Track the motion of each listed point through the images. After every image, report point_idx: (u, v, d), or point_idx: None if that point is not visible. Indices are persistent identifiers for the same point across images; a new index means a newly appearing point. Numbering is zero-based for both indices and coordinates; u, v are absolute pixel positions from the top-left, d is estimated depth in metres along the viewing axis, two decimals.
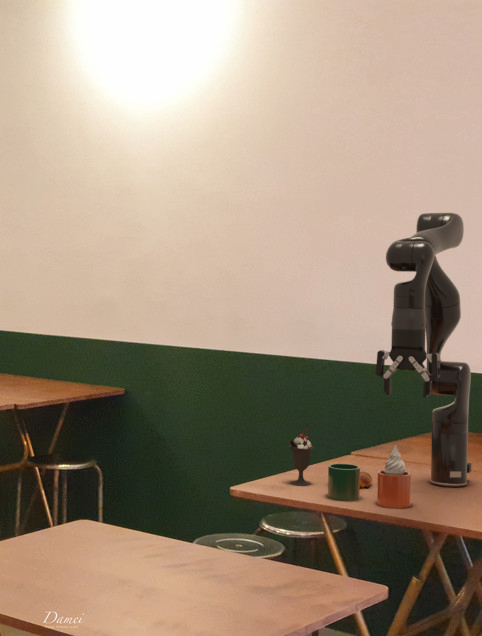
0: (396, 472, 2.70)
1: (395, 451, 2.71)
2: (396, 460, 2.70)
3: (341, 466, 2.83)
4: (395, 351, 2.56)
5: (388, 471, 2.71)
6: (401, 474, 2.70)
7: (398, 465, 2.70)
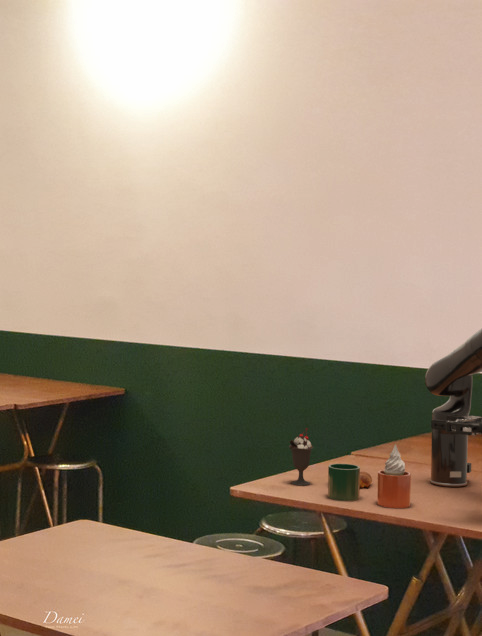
0: (396, 472, 2.70)
1: (395, 451, 2.71)
2: (396, 460, 2.70)
3: (341, 466, 2.83)
4: (477, 432, 2.55)
5: (388, 471, 2.71)
6: (401, 474, 2.70)
7: (398, 465, 2.70)
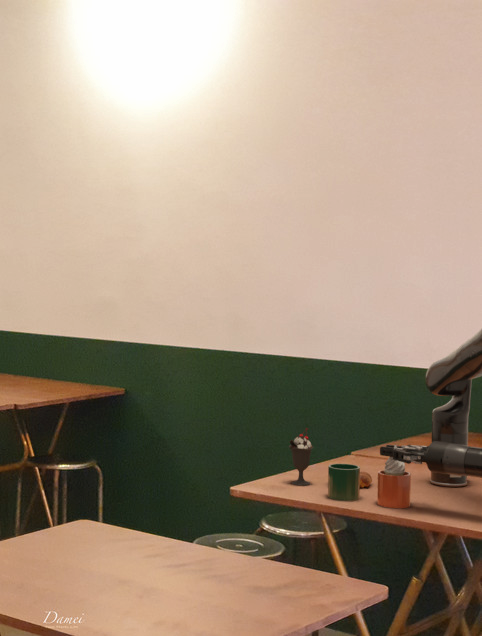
0: (396, 472, 2.70)
1: None
2: (396, 460, 2.70)
3: (341, 466, 2.83)
4: None
5: (388, 471, 2.71)
6: (401, 474, 2.70)
7: (398, 465, 2.70)
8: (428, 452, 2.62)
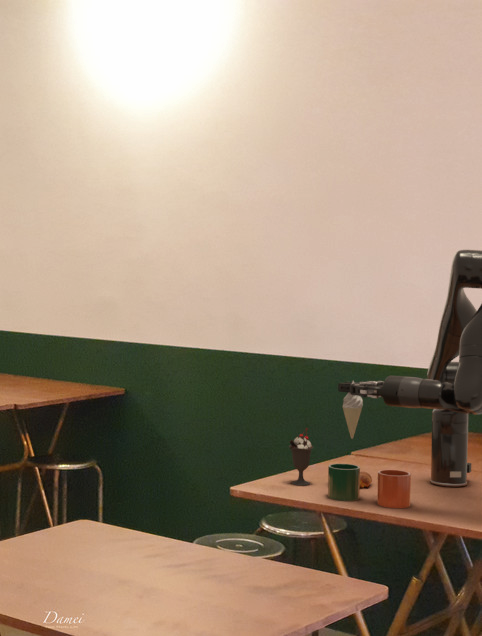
0: (354, 407, 2.75)
1: None
2: (354, 396, 2.76)
3: (341, 466, 2.83)
4: None
5: (346, 407, 2.76)
6: (359, 409, 2.76)
7: (356, 400, 2.75)
8: (384, 386, 2.68)
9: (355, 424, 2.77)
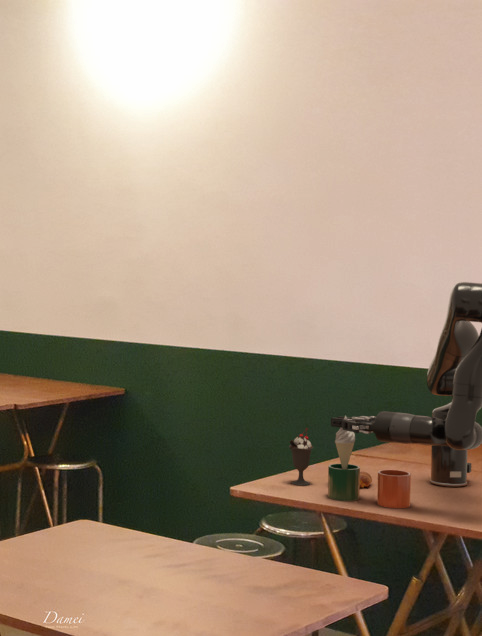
0: (346, 442, 2.77)
1: None
2: (346, 431, 2.78)
3: (341, 466, 2.83)
4: None
5: (338, 441, 2.78)
6: (351, 444, 2.77)
7: (348, 435, 2.77)
8: (376, 421, 2.69)
9: (347, 459, 2.78)
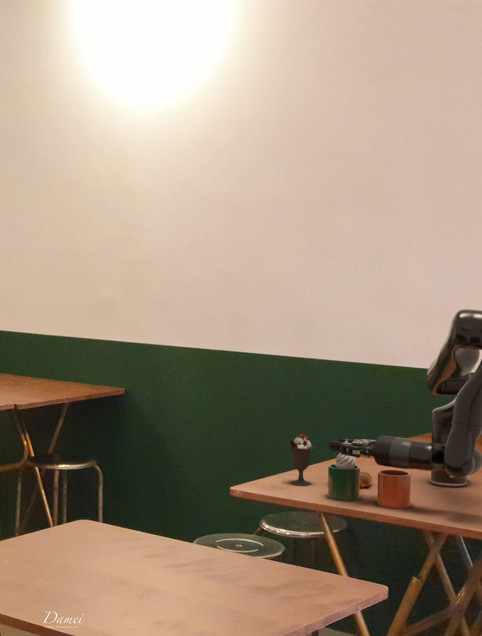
0: (346, 466, 2.77)
1: None
2: None
3: None
4: None
5: (339, 465, 2.78)
6: (351, 468, 2.78)
7: (349, 459, 2.77)
8: (375, 446, 2.70)
9: None
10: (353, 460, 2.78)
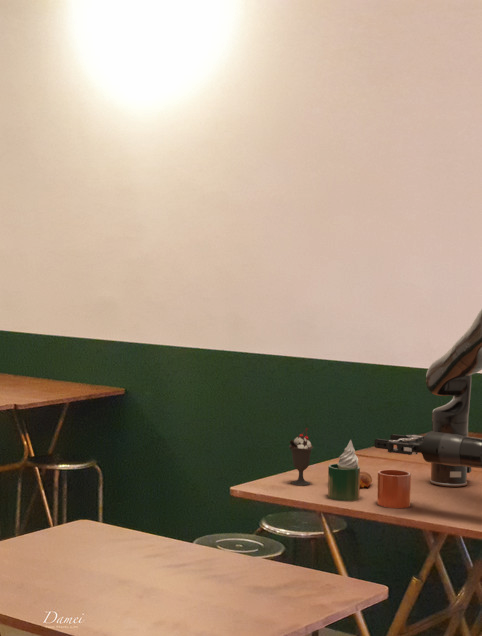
0: (349, 467, 2.77)
1: (350, 446, 2.78)
2: (350, 455, 2.78)
3: None
4: None
5: (341, 465, 2.78)
6: None
7: (351, 460, 2.77)
8: (423, 442, 2.61)
9: None
10: (356, 461, 2.78)
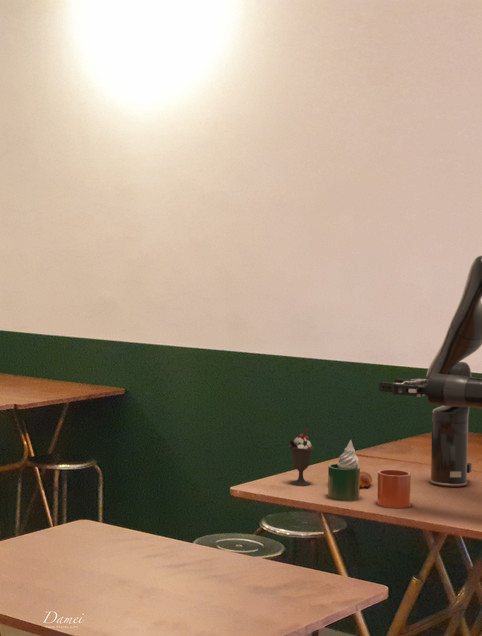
0: (349, 467, 2.77)
1: (350, 446, 2.78)
2: (350, 455, 2.78)
3: None
4: None
5: (341, 465, 2.78)
6: None
7: (351, 460, 2.77)
8: (428, 384, 2.60)
9: None
10: (356, 461, 2.78)
